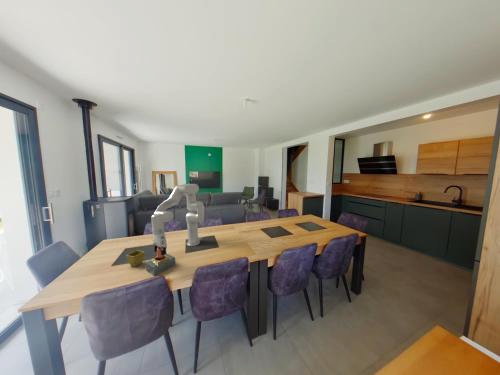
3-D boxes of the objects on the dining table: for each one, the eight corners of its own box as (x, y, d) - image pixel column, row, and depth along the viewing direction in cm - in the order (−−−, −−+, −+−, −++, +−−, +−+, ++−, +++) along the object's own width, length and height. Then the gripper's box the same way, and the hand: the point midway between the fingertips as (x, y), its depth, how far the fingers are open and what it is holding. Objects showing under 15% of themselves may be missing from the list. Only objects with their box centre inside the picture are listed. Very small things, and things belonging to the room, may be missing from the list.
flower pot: (138, 260, 136) (137, 249, 135) (145, 262, 133) (144, 251, 132) (126, 266, 128) (125, 255, 127) (134, 268, 125) (133, 257, 124)
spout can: (162, 262, 129) (161, 242, 128) (166, 263, 127) (164, 244, 125) (156, 264, 126) (155, 245, 124) (160, 266, 123) (158, 246, 121)
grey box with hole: (166, 260, 136) (166, 251, 135) (175, 264, 129) (174, 255, 128) (145, 270, 122) (144, 260, 122) (154, 275, 116) (153, 265, 115)
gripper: (169, 231, 121) (171, 253, 123) (157, 227, 131) (159, 247, 133) (159, 235, 115) (161, 258, 117) (147, 230, 125) (149, 252, 127)
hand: (160, 252), depth 125 cm, fingers open, 9 cm apart
